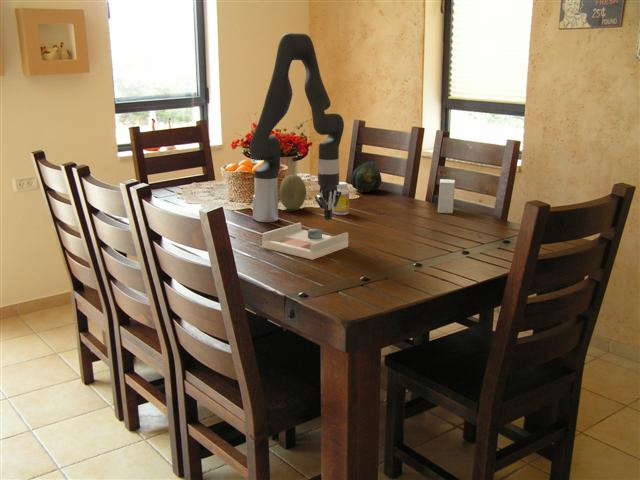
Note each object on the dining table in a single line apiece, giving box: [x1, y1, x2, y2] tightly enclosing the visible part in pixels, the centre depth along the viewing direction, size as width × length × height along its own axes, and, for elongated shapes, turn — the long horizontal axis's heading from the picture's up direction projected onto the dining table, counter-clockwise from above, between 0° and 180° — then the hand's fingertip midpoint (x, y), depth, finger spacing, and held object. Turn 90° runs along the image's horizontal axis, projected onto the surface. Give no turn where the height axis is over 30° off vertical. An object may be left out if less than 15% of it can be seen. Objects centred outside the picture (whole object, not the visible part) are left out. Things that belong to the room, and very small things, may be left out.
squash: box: [350, 160, 383, 193], centre depth 339 cm, size 14×15×15 cm
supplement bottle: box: [332, 181, 350, 216], centre depth 294 cm, size 7×7×13 cm
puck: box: [307, 228, 323, 239], centre depth 250 cm, size 5×5×2 cm
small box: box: [437, 178, 456, 214], centre depth 301 cm, size 8×6×13 cm
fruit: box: [279, 174, 307, 210], centre depth 300 cm, size 11×11×15 cm
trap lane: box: [261, 222, 349, 260], centre depth 246 cm, size 22×20×5 cm
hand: (328, 219), depth 254 cm, fingers closed
